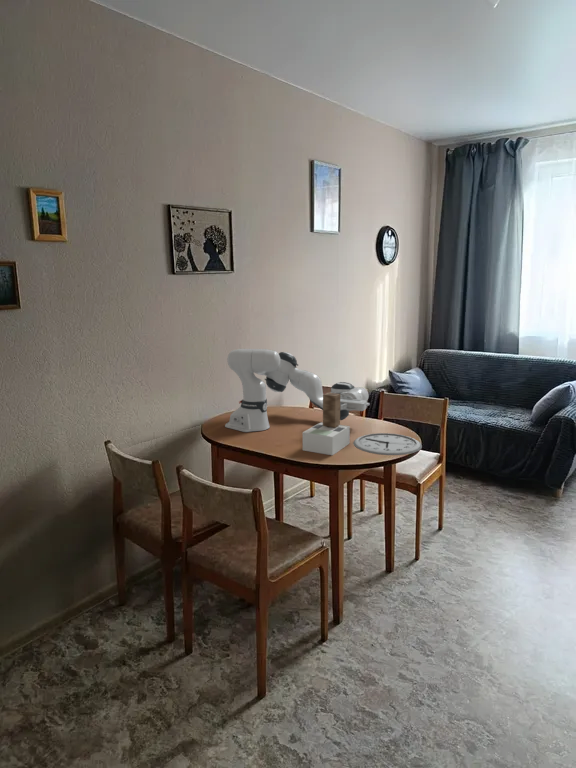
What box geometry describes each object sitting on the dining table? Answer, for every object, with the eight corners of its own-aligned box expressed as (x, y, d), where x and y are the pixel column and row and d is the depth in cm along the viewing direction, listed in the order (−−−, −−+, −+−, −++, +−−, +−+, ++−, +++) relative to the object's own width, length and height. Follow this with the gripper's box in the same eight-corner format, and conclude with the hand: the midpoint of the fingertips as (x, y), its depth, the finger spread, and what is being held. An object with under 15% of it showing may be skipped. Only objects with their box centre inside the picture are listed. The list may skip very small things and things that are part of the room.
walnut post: (322, 425, 235) (322, 394, 232) (327, 423, 239) (327, 392, 236) (335, 427, 232) (335, 396, 229) (340, 424, 236) (340, 393, 233)
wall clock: (436, 447, 227) (374, 456, 217) (436, 451, 227) (374, 460, 217) (398, 428, 254) (341, 436, 244) (398, 432, 255) (341, 439, 244)
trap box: (302, 450, 229) (302, 432, 227) (321, 439, 244) (321, 421, 242) (332, 455, 222) (332, 436, 220) (349, 443, 237) (349, 425, 235)
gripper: (371, 410, 247) (359, 416, 236) (330, 405, 257) (318, 411, 246) (371, 396, 246) (359, 403, 234) (330, 392, 256) (318, 398, 244)
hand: (338, 407), depth 240 cm, fingers closed
